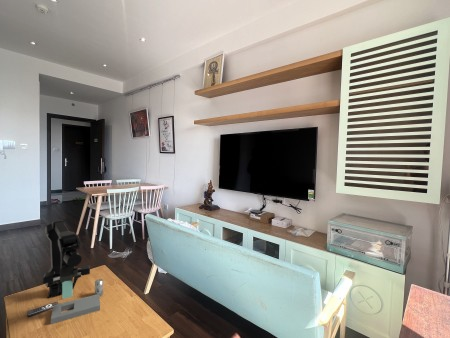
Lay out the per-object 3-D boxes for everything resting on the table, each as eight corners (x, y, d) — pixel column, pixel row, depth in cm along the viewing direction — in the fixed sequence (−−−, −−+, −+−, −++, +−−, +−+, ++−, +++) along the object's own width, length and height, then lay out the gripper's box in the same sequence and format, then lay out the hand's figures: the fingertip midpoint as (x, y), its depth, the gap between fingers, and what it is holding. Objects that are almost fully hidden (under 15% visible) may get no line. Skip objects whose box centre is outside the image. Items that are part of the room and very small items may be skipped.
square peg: (63, 294, 110) (63, 279, 109) (72, 292, 112) (72, 277, 111) (62, 299, 106) (62, 283, 106) (72, 296, 108) (72, 280, 108)
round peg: (94, 293, 125) (94, 280, 125) (102, 291, 127) (102, 278, 127) (94, 297, 122) (95, 283, 121) (103, 295, 124) (103, 281, 123)
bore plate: (53, 310, 111) (53, 305, 111) (99, 298, 121) (99, 293, 121) (50, 324, 101) (50, 319, 101) (100, 310, 112) (100, 305, 112)
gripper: (40, 271, 96) (40, 305, 97) (90, 262, 106) (89, 293, 107) (44, 261, 106) (44, 292, 107) (90, 253, 116) (89, 282, 116)
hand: (67, 290), depth 109 cm, fingers closed on square peg, 4 cm apart
